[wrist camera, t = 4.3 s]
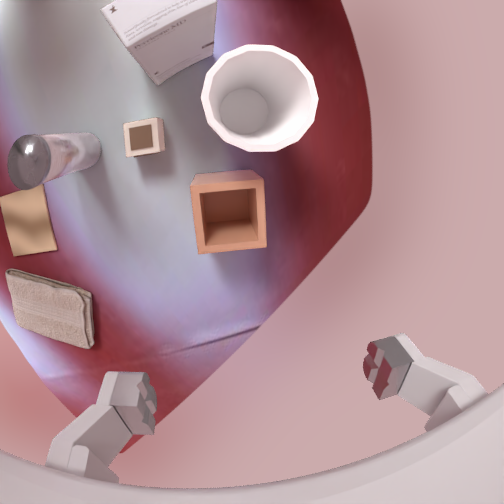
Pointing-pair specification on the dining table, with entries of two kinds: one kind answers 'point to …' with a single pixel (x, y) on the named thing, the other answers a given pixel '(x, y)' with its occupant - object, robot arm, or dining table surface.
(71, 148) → the tin canister
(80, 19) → the dining table surface
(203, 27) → the skincare box
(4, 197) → the cork coaster
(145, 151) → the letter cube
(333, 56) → the dining table surface
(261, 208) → the terracotta planter
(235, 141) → the foam cup
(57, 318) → the washcloth
